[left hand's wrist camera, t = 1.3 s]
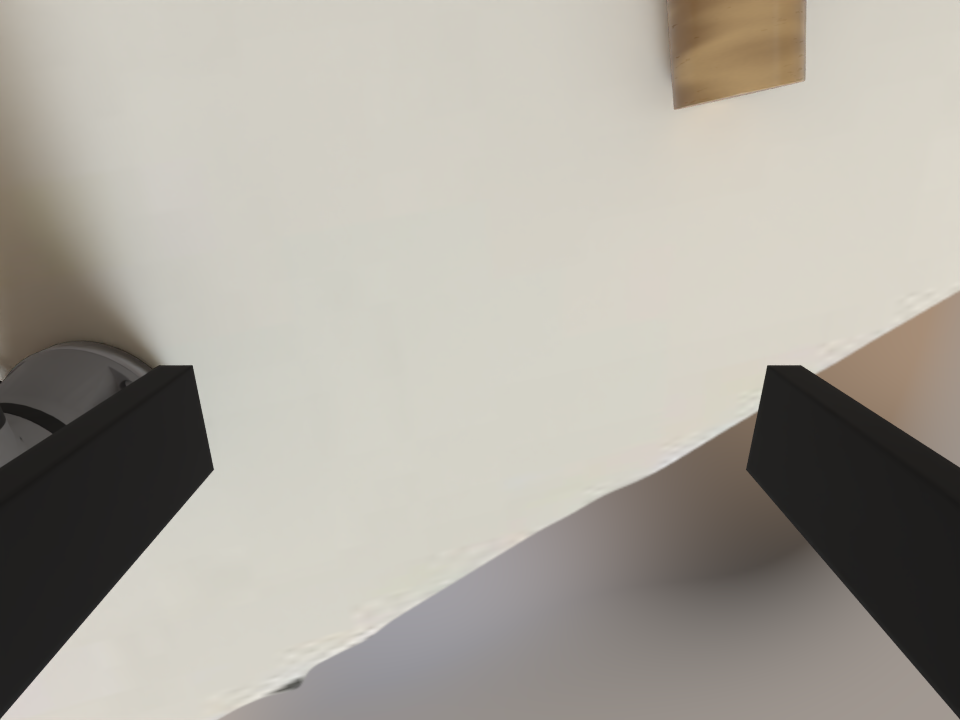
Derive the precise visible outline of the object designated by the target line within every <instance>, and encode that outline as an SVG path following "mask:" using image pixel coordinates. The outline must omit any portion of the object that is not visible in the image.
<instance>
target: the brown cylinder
mask: <svg viewBox="0 0 960 720" xmlns="http://www.w3.org/2000/svg"><path fill="white" fill-rule="evenodd" d="M667 12H668V27H669V42H670V57H671V72H672V87H673V102H674V110H676V109H682V108H687V107H691V106H696V105H701V104H706V103H710V102H715V101H720V100H724V99H729V98H733V97H738V96H742V95H747V94H751V93H756V92H760V91H765V90H769V89H773V88H778V87H782V86H786V85H790V84H795V83H799V82H803V81H805V68H806V0H667Z"/></svg>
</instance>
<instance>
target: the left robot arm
mask: <svg viewBox="0 0 960 720" xmlns="http://www.w3.org/2000/svg"><path fill="white" fill-rule="evenodd" d="M213 470H214V468H213V463H212V458H211V453H210V449H209V444H208V439H207V434H206V429H205V424H204V419H203V414H202V409H201V404H200V400H199V395H198V390H197V385H196V380H195V375H194V370H193V365H159V366H157V367H156V368H154V369H151V368H150V367H149V366H148V365H146V364H145V363H143V362H142V361H140V360H139V359H137V358H136V357H134V356H132V355H130V354H128V353H126V352H124V351H122V350H120V349H117V348H114V347H112V346H108V345H105V344H100V343H95V342H86V341H75V342H66V343H61V344H57V345H54V346H51V347H49V348H47V349H44V350H42V351H40V352H37V353H35V354H33V355H30V356H29V357H27V358H25V359H23V360H22V361H21V362H19V363H18V364H17V365H16V366H15V367H14V368H13V369H12V370H11V372H10V373H9V374H8V375H7V377H6V378H5V379H4V380H3V382H2V381H0V719H1V718H2V716H3V715H4V714H5V713H6V712H7V711H8V709H9V708H10V707H11V706H12V705H13V704H14V702H15V701H16V700H17V699H18V698H19V697H20V695H21V694H22V693H23V692H24V691H25V690H26V688H27V687H28V686H29V685H30V684H31V683H32V681H33V680H34V679H35V678H36V677H37V676H38V674H39V673H40V672H41V671H42V670H43V669H44V667H45V666H46V665H47V664H48V663H49V662H50V660H51V659H52V658H53V657H54V656H55V655H56V653H57V652H58V651H59V650H60V649H61V648H62V646H63V645H64V644H65V643H66V642H67V640H68V639H69V638H70V637H71V636H72V635H73V633H74V632H75V631H76V630H77V629H78V628H79V626H80V625H81V624H82V623H83V622H84V621H85V619H86V618H87V617H88V616H89V615H90V614H91V612H92V611H93V610H94V609H95V608H96V607H97V605H98V604H99V603H100V602H101V601H102V600H103V598H104V597H105V596H106V595H107V594H108V593H109V591H110V590H111V589H112V588H113V587H114V586H115V584H116V583H117V582H118V581H119V580H120V579H121V577H122V576H123V575H124V574H125V573H126V572H127V570H128V569H129V568H130V567H131V566H132V565H133V563H134V562H135V561H136V560H137V559H138V558H139V556H140V555H141V554H142V553H143V552H144V551H145V549H146V548H147V547H148V546H149V545H150V544H151V542H152V541H153V540H154V539H155V538H156V537H157V535H158V534H159V533H160V532H161V531H162V530H163V528H164V527H165V526H166V525H167V524H168V523H169V521H170V520H171V519H172V518H173V517H174V516H175V514H176V513H177V512H178V511H179V510H180V509H181V507H182V506H183V505H184V504H185V503H186V502H187V500H188V499H189V498H190V497H191V496H192V495H193V493H194V492H195V491H196V490H197V489H198V488H199V486H200V485H201V484H202V483H203V482H204V481H205V479H206V478H207V477H208V476H209V475H210V474H211V472H212V471H213ZM746 470H747V471H748V472H749V474H750V475H751V476H752V477H753V478H754V479H755V481H756V482H757V483H758V484H759V485H760V486H761V488H762V489H763V490H764V491H765V492H766V493H767V494H768V496H769V497H770V498H771V499H772V500H773V502H774V503H775V504H776V505H777V506H778V507H779V509H780V510H781V511H782V512H783V513H784V514H785V516H786V517H787V518H788V519H789V520H790V521H791V523H792V524H793V525H794V526H795V527H796V528H797V530H798V531H799V532H800V533H801V534H802V535H803V537H804V538H805V539H806V540H807V541H808V542H809V544H810V545H811V546H812V547H813V548H814V549H815V551H816V552H817V553H818V554H819V555H820V556H821V558H822V559H823V560H824V561H825V562H826V563H827V565H828V566H829V567H830V568H831V569H832V570H833V572H834V573H835V574H836V575H837V576H838V577H839V579H840V580H841V581H842V582H843V583H844V584H845V586H846V587H847V588H848V589H849V590H850V591H851V593H852V594H853V595H854V596H855V597H856V598H857V600H858V601H859V602H860V603H861V604H862V605H863V607H864V608H865V609H866V610H867V611H868V612H869V614H870V615H871V616H872V617H873V618H874V619H875V621H876V622H877V623H878V624H879V625H880V626H881V628H882V629H883V630H884V631H885V632H886V633H887V635H888V636H889V637H890V638H891V639H892V641H893V642H894V643H895V644H896V645H897V646H898V648H899V649H900V650H901V651H902V652H903V653H904V654H905V656H906V657H907V658H908V659H909V660H910V661H911V663H912V664H913V665H914V666H915V667H916V669H917V670H918V671H919V672H920V673H921V674H922V676H923V677H924V678H925V679H926V680H927V681H928V683H929V684H930V685H931V686H932V687H933V688H934V690H935V691H936V692H937V693H938V694H939V695H940V696H941V698H942V699H943V700H944V701H945V702H946V704H947V705H948V706H949V707H950V708H951V709H952V710H953V712H954V713H955V714H956V715H957V716H958V718H959V719H960V467H958V466H957V465H955V464H953V463H952V462H950V461H949V460H947V459H946V458H944V457H942V456H941V455H939V454H938V453H936V452H935V451H933V450H932V449H930V448H929V447H927V446H925V445H924V444H922V443H921V442H919V441H918V440H916V439H915V438H913V437H911V436H910V435H908V434H907V433H905V432H904V431H902V430H901V429H899V428H897V427H896V426H894V425H893V424H891V423H890V422H888V421H887V420H885V419H883V418H882V417H880V416H879V415H877V414H876V413H874V412H873V411H871V410H869V409H868V408H866V407H865V406H863V405H862V404H860V403H859V402H857V401H855V400H854V399H852V398H851V397H849V396H848V395H846V394H845V393H843V392H841V391H840V390H838V389H837V388H835V387H834V386H832V385H831V384H829V383H828V382H826V381H824V380H823V379H821V378H820V377H818V376H817V375H815V374H814V373H812V372H810V371H809V370H807V369H806V368H804V367H803V366H801V365H767V370H766V375H765V380H764V385H763V390H762V395H761V400H760V404H759V409H758V414H757V419H756V424H755V429H754V434H753V439H752V444H751V449H750V453H749V459H748V463H747V468H746Z"/></svg>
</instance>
